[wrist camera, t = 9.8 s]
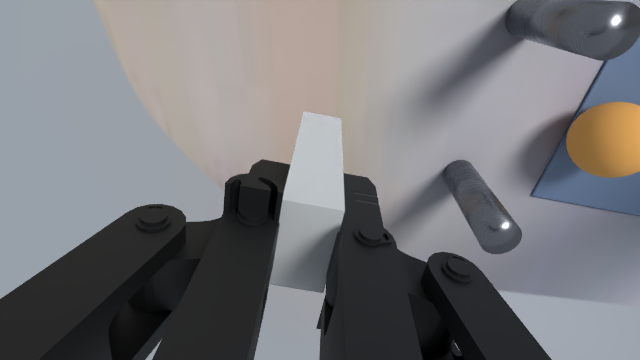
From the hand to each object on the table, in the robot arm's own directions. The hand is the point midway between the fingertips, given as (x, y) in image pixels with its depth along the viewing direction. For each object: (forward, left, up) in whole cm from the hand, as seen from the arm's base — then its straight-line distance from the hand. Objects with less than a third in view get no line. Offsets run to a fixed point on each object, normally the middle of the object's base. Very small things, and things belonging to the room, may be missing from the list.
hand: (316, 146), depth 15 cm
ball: (-22, 0, -12) cm, 24 cm away
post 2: (-13, -6, -14) cm, 20 cm away
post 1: (-13, +6, -14) cm, 20 cm away
